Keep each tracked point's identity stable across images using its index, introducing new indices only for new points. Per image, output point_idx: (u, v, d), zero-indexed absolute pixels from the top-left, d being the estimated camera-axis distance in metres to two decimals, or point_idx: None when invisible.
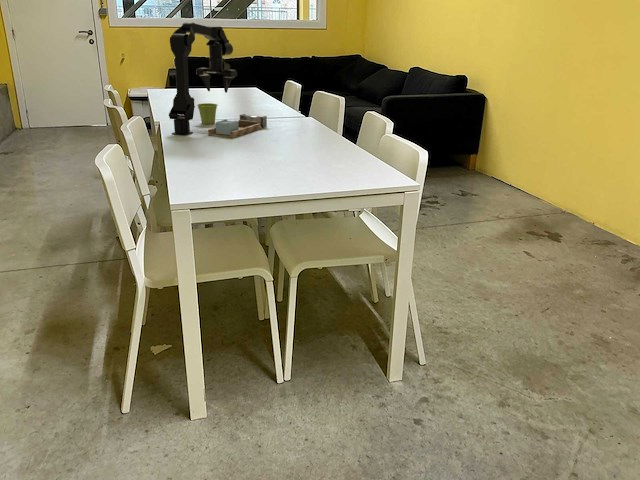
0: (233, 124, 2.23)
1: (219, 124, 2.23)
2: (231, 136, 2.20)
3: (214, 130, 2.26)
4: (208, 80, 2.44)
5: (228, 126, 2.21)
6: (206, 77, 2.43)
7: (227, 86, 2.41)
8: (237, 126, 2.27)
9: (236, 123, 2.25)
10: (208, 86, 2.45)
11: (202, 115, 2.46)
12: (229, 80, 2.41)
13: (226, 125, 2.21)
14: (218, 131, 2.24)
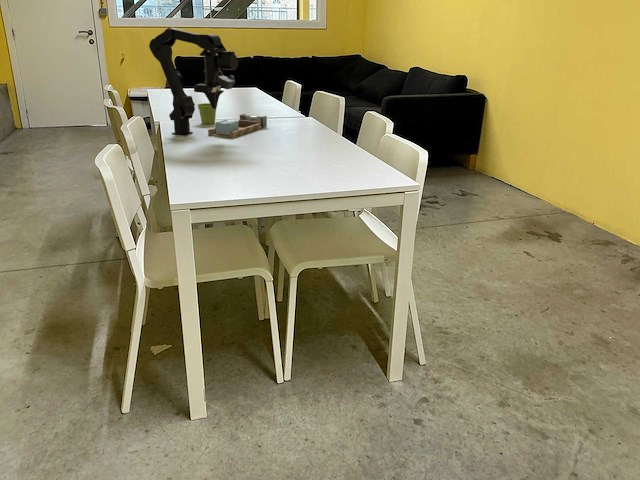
0: (233, 124, 2.23)
1: (219, 124, 2.23)
2: (231, 136, 2.20)
3: (214, 130, 2.26)
4: None
5: (228, 126, 2.21)
6: None
7: (212, 101, 2.13)
8: (237, 126, 2.27)
9: (236, 123, 2.25)
10: None
11: (202, 115, 2.46)
12: (213, 95, 2.11)
13: (226, 125, 2.21)
14: (218, 131, 2.24)
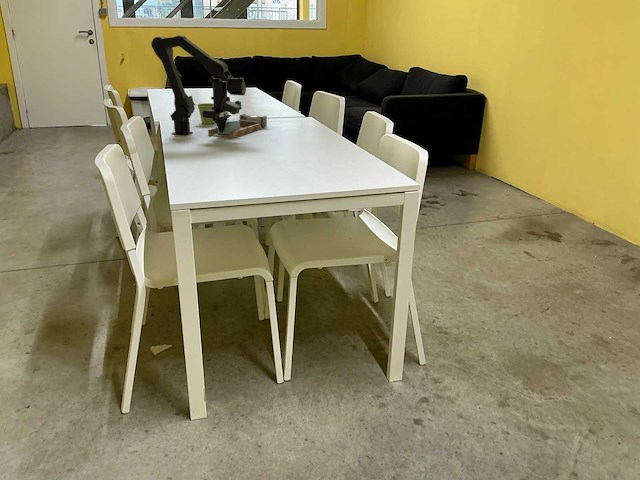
0: (235, 124, 2.25)
1: None
2: (231, 136, 2.20)
3: (214, 130, 2.26)
4: (222, 121, 2.21)
5: (230, 126, 2.22)
6: None
7: (219, 126, 2.20)
8: (239, 126, 2.28)
9: (238, 123, 2.27)
10: None
11: None
12: (220, 120, 2.19)
13: (228, 125, 2.23)
14: None
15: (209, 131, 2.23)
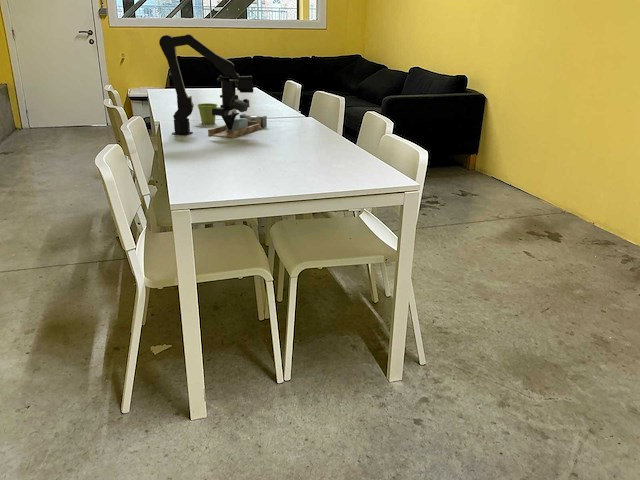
0: (242, 121, 2.30)
1: None
2: (231, 136, 2.20)
3: (214, 130, 2.26)
4: None
5: (238, 123, 2.28)
6: None
7: (227, 123, 2.26)
8: (246, 123, 2.33)
9: (245, 120, 2.32)
10: None
11: (202, 115, 2.46)
12: (229, 117, 2.24)
13: (236, 122, 2.28)
14: None
15: (209, 131, 2.23)
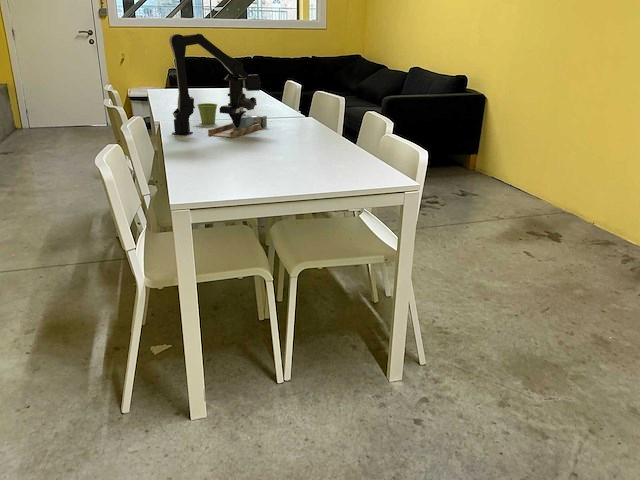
0: (249, 119, 2.35)
1: None
2: (231, 136, 2.20)
3: (214, 130, 2.26)
4: None
5: (245, 121, 2.33)
6: None
7: (235, 121, 2.31)
8: (253, 121, 2.38)
9: (252, 118, 2.37)
10: None
11: (202, 115, 2.46)
12: (236, 115, 2.29)
13: (243, 120, 2.33)
14: None
15: (209, 131, 2.23)
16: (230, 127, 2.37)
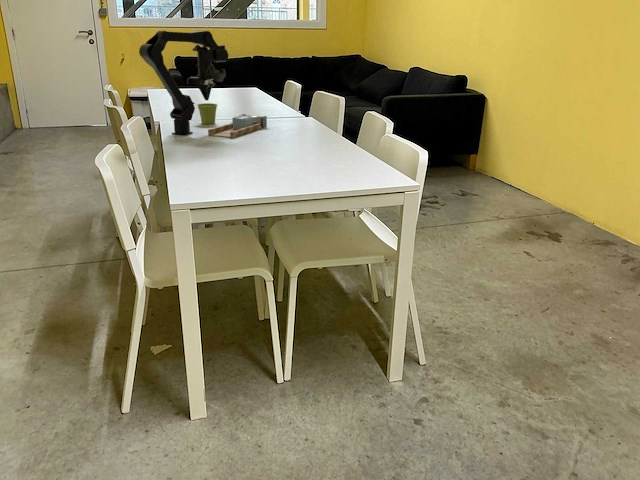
0: (249, 119, 2.35)
1: (236, 119, 2.34)
2: (231, 136, 2.20)
3: (214, 130, 2.26)
4: None
5: (244, 121, 2.33)
6: None
7: (204, 93, 2.27)
8: (253, 121, 2.38)
9: (252, 118, 2.37)
10: None
11: (202, 115, 2.46)
12: (205, 88, 2.25)
13: (243, 120, 2.33)
14: (235, 126, 2.36)
15: (209, 131, 2.23)
16: (230, 127, 2.37)
